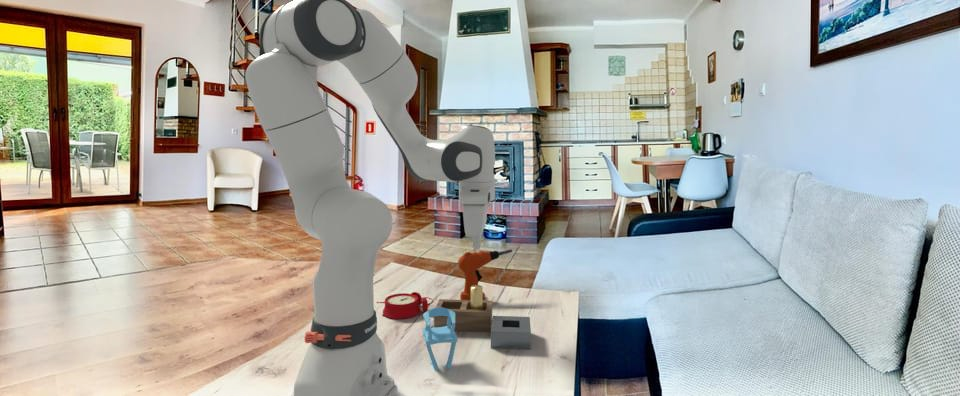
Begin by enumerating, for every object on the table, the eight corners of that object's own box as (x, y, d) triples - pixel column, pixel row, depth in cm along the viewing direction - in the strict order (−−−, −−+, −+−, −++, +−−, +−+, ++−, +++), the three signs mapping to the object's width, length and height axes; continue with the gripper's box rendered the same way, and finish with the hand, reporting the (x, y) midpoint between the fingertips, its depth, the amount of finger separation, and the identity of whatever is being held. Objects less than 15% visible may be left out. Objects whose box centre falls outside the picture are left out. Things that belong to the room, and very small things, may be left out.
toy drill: (519, 289, 140) (514, 243, 137) (464, 305, 133) (458, 257, 130) (512, 284, 145) (507, 239, 142) (458, 300, 137) (452, 253, 134)
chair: (424, 376, 91) (423, 320, 90) (420, 357, 99) (419, 305, 98) (461, 372, 93) (461, 317, 92) (454, 353, 101) (454, 302, 100)
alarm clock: (373, 298, 126) (421, 278, 133) (378, 318, 128) (425, 297, 135) (385, 310, 117) (436, 288, 124) (391, 331, 119) (441, 309, 126)
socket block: (530, 353, 101) (530, 332, 101) (490, 352, 102) (490, 331, 101) (529, 336, 110) (529, 316, 109) (492, 335, 111) (492, 315, 110)
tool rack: (490, 335, 110) (490, 312, 110) (434, 333, 111) (433, 310, 111) (492, 322, 118) (492, 300, 117) (439, 320, 119) (439, 299, 119)
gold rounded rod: (482, 327, 113) (482, 288, 112) (470, 327, 113) (470, 288, 112) (483, 322, 116) (482, 285, 115) (471, 322, 116) (471, 284, 115)
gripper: (468, 187, 121) (468, 238, 122) (458, 197, 100) (459, 258, 102) (491, 188, 120) (491, 238, 122) (487, 198, 100) (487, 258, 102)
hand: (476, 247), depth 112 cm, fingers closed
